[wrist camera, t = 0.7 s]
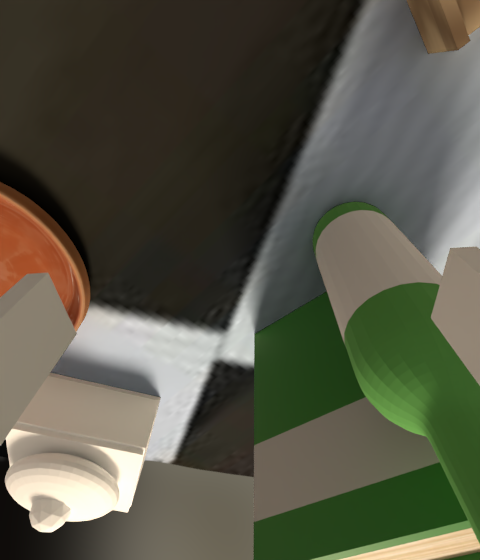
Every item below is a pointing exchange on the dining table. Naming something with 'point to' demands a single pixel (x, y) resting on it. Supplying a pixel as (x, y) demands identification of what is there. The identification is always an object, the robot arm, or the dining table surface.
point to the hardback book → (340, 459)
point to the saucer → (40, 252)
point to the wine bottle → (401, 339)
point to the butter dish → (78, 450)
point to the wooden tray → (445, 22)
